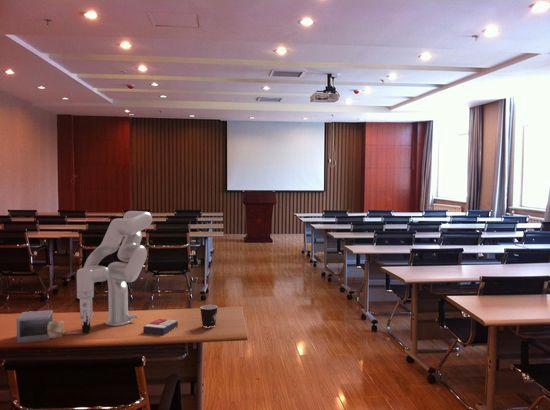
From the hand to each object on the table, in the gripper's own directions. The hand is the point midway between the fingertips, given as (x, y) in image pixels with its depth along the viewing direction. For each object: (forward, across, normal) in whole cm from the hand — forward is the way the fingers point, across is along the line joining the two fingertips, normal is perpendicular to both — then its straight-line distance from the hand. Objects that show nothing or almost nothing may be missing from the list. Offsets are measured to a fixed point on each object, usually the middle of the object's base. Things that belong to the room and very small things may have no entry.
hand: (86, 331), depth 225 cm
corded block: (+1, 0, +8) cm, 8 cm away
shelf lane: (+1, 0, +22) cm, 22 cm away
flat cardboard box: (+2, -4, -35) cm, 35 cm away
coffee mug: (+1, -5, -60) cm, 60 cm away
